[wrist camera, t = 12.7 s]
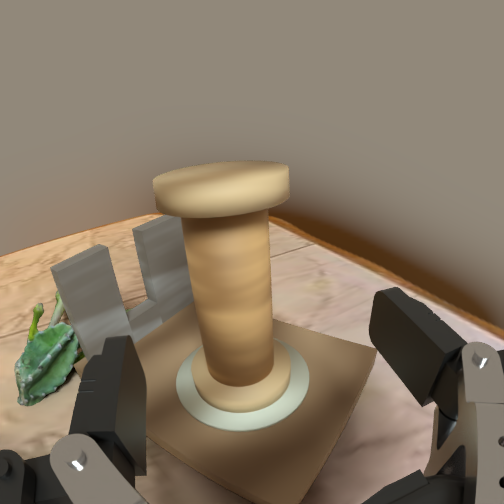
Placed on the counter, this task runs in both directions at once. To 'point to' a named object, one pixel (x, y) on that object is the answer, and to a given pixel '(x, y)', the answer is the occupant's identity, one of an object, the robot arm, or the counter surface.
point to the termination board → (182, 384)
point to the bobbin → (231, 277)
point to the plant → (46, 357)
